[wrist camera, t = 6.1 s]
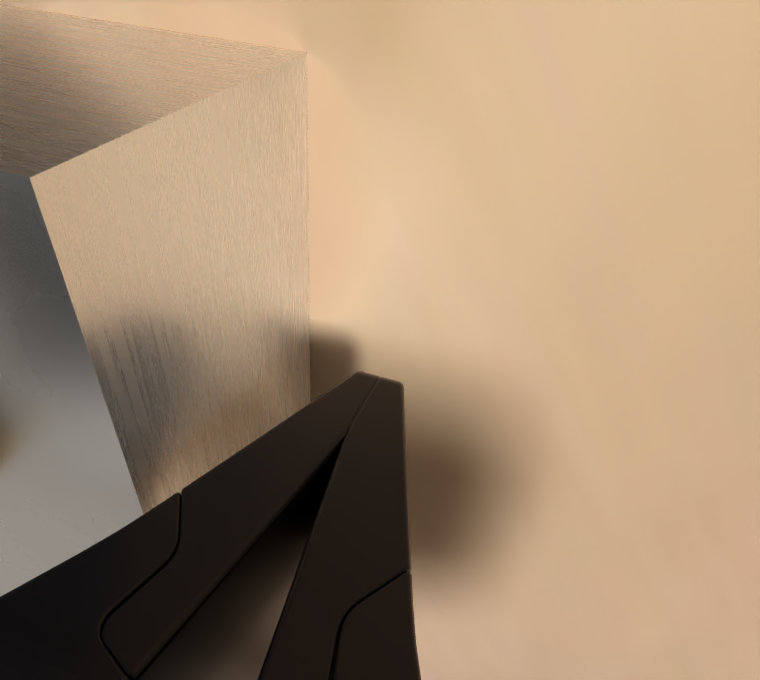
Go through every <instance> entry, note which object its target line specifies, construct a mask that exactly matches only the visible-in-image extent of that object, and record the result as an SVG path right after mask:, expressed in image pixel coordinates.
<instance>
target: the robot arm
mask: <svg viewBox="0 0 760 680" xmlns="http://www.w3.org/2000/svg"><path fill="white" fill-rule="evenodd" d="M410 572H411V552H410V528H409V504H408V481H407V457H406V433H405V409H404V388H403V384H402V383H401V382H398V381H394V380H391V379H387V378H383V377H379V376H376V375H372V374H369V373H365V372H361V371H359V372H356V373H354V374H352V375H351V376H349V377H348V378H346V379H345V380H343V381H342V382H340V383H339V384H337V385H336V386H335V387H333V388H332V389H330V390H329V391H327V392H326V393H324V394H323V395H321V396H320V397H318V398H317V399H315V400H314V401H312V402H311V403H309V404H308V405H306V406H305V407H303V408H302V409H300V410H299V411H297V412H296V413H294V414H293V415H291V416H290V417H288V418H287V419H285V420H284V421H282V422H281V423H280V424H278V425H277V426H275V427H274V428H272V429H271V430H269V431H268V432H266V433H265V434H263V435H262V436H260V437H259V438H257V439H256V440H254V441H253V442H251V443H250V444H248V445H247V446H245V447H244V448H242V449H241V450H239V451H238V452H236V453H235V454H233V455H232V456H230V457H229V458H227V459H226V460H225V461H223V462H222V463H220V464H219V465H217V466H216V467H214V468H213V469H211V470H210V471H208V472H207V473H205V474H204V475H202V476H201V477H199V478H198V479H196V480H195V481H193V482H192V483H190V484H189V485H187V486H186V487H184V488H183V489H182V491H181V494H180V493H179V492H177V493H175V494H174V495H172V496H171V497H169V498H168V499H166V500H165V501H163V502H162V503H160V504H159V505H157V506H156V507H154V508H153V509H151V510H150V511H148V512H146V513H145V514H143V515H142V516H140V517H139V518H137V519H135V520H134V521H132V522H131V523H129V524H128V525H126V526H125V527H123V528H121V529H120V530H118V531H117V532H115V533H113V534H111V535H110V536H108V537H106V538H104V539H103V540H101V541H99V542H98V543H96V544H94V545H92V546H91V547H89V548H87V549H85V550H84V551H82V552H80V553H78V554H77V555H75V556H73V557H71V558H70V559H68V560H66V561H64V562H62V563H60V564H59V565H57V566H55V567H53V568H51V569H50V570H48V571H46V572H44V573H42V574H40V575H39V576H37V577H35V578H33V579H31V580H30V581H28V582H26V583H24V584H22V585H20V586H19V587H17V588H15V589H13V590H11V591H10V592H8V593H6V594H4V595H2V596H0V680H421V675H420V668H419V661H418V654H417V647H416V636H415V624H414V611H413V593H412V575H411V573H410Z"/></svg>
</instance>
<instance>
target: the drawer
mask: <svg viewBox="0 0 760 680" xmlns="http://www.w3.org/2000/svg"><path fill="white" fill-rule="evenodd" d="M309 403H310V319H309V207H308V94H307V52H301V51H295V50H288V49H282V48H275V47H269V46H263V45H256V44H250V43H244V42H237V41H231V40H224V39H218V38H212V37H205V36H199V35H193V34H186V33H180V32H173V31H167V30H161V29H154V28H148V27H141V26H135V25H129V24H122V23H116V22H110V21H103V20H97V19H90V18H84V17H78V16H71V15H65V14H59V13H52V12H46V11H39V10H33V9H27V8H20V7H14V6H8V5H1V4H0V596H2V595H4V594H6V593H8V592H10V591H11V590H13V589H15V588H17V587H19V586H20V585H22V584H24V583H26V582H28V581H30V580H31V579H33V578H35V577H37V576H39V575H40V574H42V573H44V572H46V571H48V570H50V569H51V568H53V567H55V566H57V565H59V564H60V563H62V562H64V561H66V560H68V559H70V558H71V557H73V556H75V555H77V554H78V553H80V552H82V551H84V550H85V549H87V548H89V547H91V546H92V545H94V544H96V543H98V542H99V541H101V540H103V539H104V538H106V537H108V536H110V535H111V534H113V533H115V532H117V531H118V530H120V529H121V528H123V527H125V526H126V525H128V524H129V523H131V522H132V521H134V520H135V519H137V518H139V517H140V516H142V515H143V514H145V513H146V512H148V511H150V510H151V509H153V508H154V507H156V506H157V505H159V504H160V503H162V502H163V501H165V500H166V499H168V498H169V497H171V496H172V495H174V494H175V493H177V492H179V493H180V494H181V491H182V489H183V488H184V487H186V486H187V485H189V484H190V483H192V482H193V481H195V480H196V479H198V478H199V477H201V476H202V475H204V474H205V473H207V472H208V471H210V470H211V469H213V468H214V467H216V466H217V465H219V464H220V463H222V462H223V461H225V460H226V459H227V458H229V457H230V456H232V455H233V454H235V453H236V452H238V451H239V450H241V449H242V448H244V447H245V446H247V445H248V444H250V443H251V442H253V441H254V440H256V439H257V438H259V437H260V436H262V435H263V434H265V433H266V432H268V431H269V430H271V429H272V428H274V427H275V426H277V425H278V424H280V423H281V422H282V421H284V420H285V419H287V418H288V417H290V416H291V415H293V414H294V413H296V412H297V411H299V410H300V409H302V408H303V407H305V406H306V405H308V404H309Z"/></svg>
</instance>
